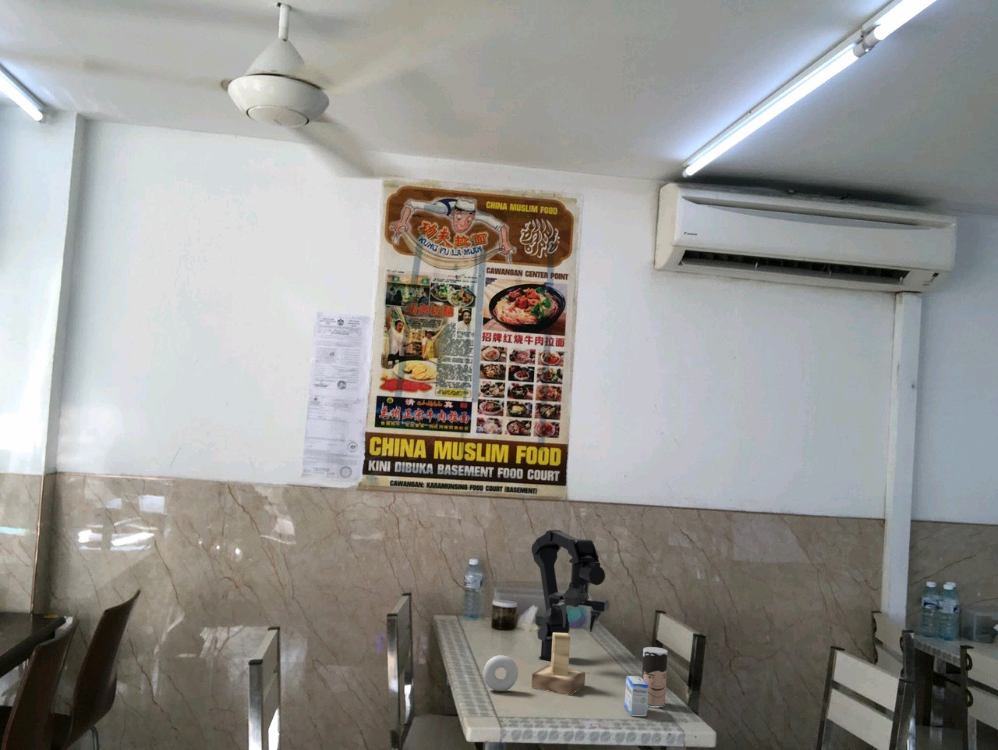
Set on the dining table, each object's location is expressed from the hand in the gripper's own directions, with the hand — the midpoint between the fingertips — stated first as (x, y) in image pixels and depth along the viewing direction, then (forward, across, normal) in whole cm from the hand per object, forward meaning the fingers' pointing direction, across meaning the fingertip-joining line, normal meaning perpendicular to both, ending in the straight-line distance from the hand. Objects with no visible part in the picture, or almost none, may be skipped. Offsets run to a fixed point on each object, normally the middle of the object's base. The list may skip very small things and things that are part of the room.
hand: (577, 629), depth 272 cm
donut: (+13, -10, -34) cm, 38 cm away
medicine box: (+13, +28, -28) cm, 42 cm away
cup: (+13, +30, -18) cm, 37 cm away
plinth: (+13, +2, -19) cm, 23 cm away
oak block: (+9, +2, -19) cm, 21 cm away
